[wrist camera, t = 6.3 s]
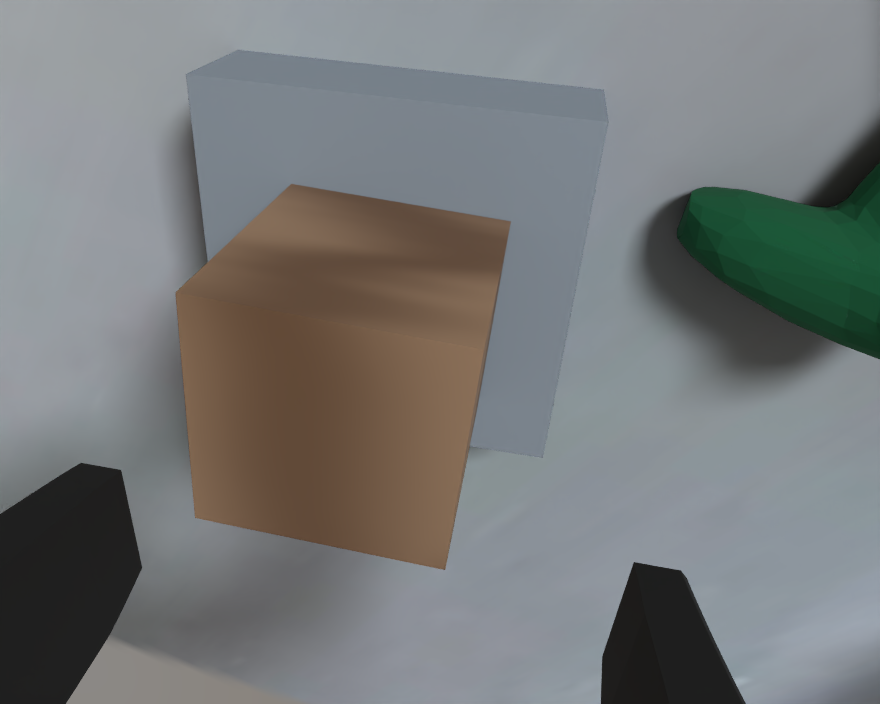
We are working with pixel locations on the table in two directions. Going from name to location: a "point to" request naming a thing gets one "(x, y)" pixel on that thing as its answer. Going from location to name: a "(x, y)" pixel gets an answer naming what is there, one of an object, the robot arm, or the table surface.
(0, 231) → the table surface
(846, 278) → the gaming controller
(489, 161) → the slate block
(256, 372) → the walnut block
